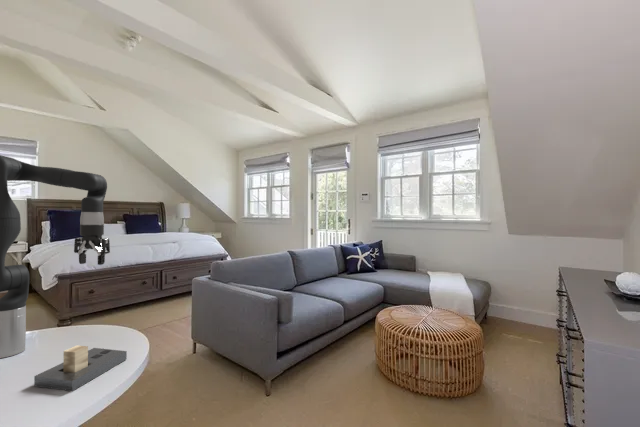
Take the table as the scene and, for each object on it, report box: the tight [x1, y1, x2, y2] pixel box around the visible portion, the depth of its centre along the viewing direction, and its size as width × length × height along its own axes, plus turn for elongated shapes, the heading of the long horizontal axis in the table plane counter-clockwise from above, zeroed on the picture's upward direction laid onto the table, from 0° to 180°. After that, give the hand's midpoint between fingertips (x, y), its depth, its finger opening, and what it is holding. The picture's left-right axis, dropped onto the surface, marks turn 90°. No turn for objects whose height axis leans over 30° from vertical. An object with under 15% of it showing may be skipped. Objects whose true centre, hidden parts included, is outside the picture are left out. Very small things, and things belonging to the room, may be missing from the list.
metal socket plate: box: [33, 347, 128, 392], centre depth 101 cm, size 14×20×3 cm
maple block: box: [62, 344, 89, 373], centre depth 98 cm, size 4×4×9 cm
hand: (91, 264), depth 119 cm, fingers open, 8 cm apart
